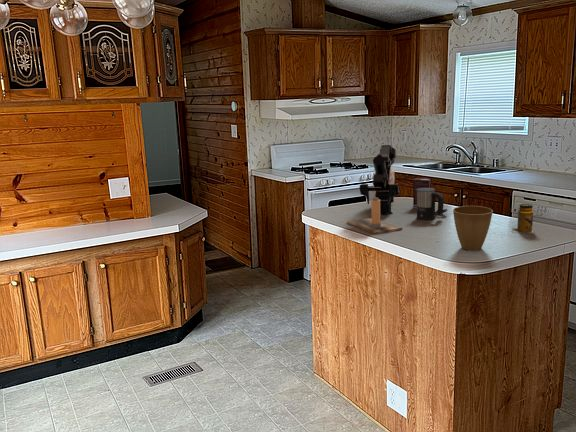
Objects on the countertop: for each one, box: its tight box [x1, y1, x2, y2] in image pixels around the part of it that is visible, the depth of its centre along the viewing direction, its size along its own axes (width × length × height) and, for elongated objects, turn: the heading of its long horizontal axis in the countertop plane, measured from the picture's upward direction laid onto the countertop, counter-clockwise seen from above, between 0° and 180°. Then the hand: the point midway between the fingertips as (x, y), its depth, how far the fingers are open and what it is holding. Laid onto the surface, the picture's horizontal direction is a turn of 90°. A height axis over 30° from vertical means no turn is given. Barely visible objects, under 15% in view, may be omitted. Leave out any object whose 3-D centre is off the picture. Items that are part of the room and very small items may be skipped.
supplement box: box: [412, 178, 431, 209], centre depth 292 cm, size 9×5×16 cm, turn 65°
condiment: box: [511, 203, 534, 234], centre depth 237 cm, size 7×8×12 cm
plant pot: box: [452, 205, 494, 251], centre depth 214 cm, size 15×15×16 cm
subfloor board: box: [346, 217, 403, 235], centre depth 258 cm, size 15×25×1 cm, turn 24°
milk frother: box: [415, 187, 448, 221], centre depth 270 cm, size 14×16×15 cm
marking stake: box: [370, 197, 381, 228], centre depth 251 cm, size 4×4×14 cm
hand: (377, 203), depth 258 cm, fingers open, 9 cm apart
